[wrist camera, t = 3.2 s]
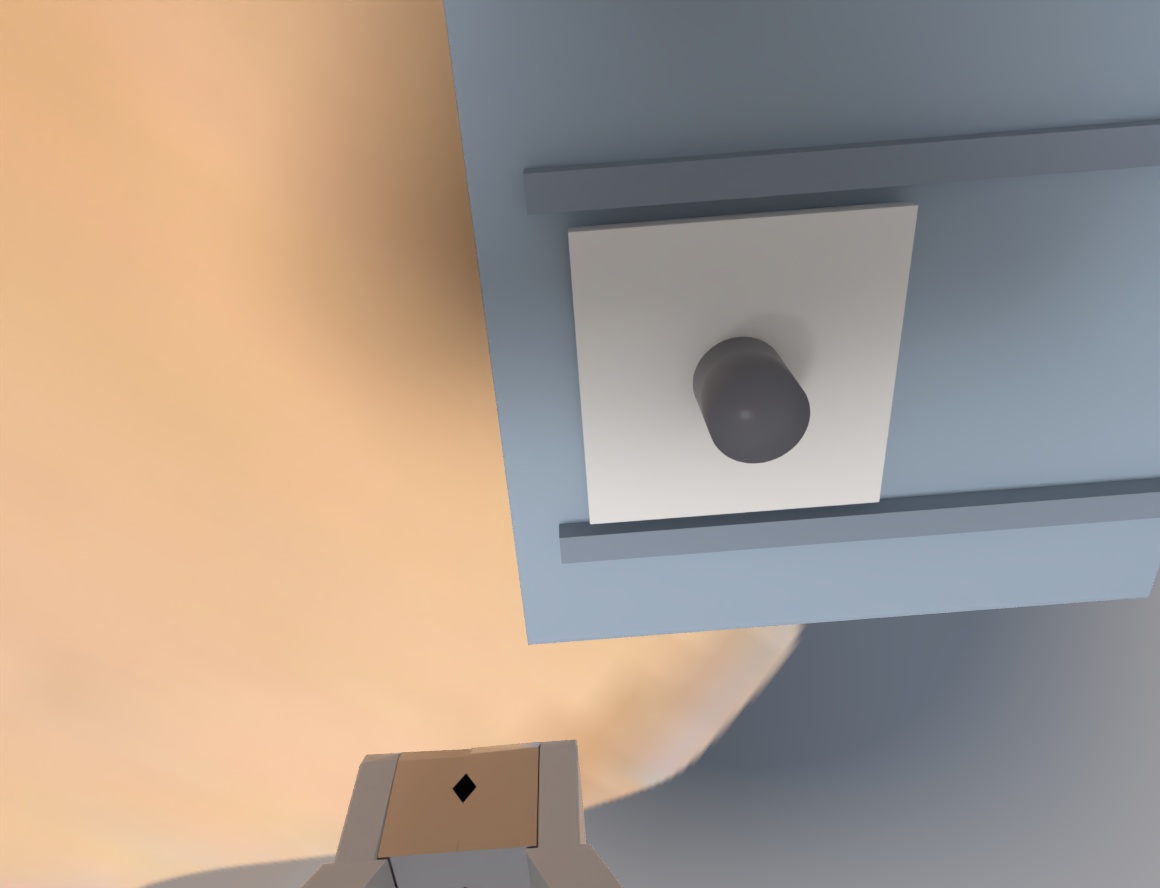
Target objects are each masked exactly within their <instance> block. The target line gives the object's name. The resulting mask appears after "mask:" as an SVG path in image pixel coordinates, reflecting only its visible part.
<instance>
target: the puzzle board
mask: <svg viewBox="0 0 1160 888" xmlns="http://www.w3.org/2000/svg"><path fill="white" fill-rule="evenodd" d="M443 2H444V10H445V17H446V25H447V32H448V40H449V48H450V55H451V63H452V70H453V78H454V86H455V93H456V101H457V108H458V116H459V123H460V131H461V139H462V146H463V154H464V161H465V169H466V177H467V184H468V192H469V199H470V207H471V215H472V222H473V230H474V237H475V245H476V252H477V260H478V268H479V275H480V283H481V290H482V298H483V306H484V313H485V321H486V328H487V336H488V343H489V351H490V359H491V366H492V374H493V381H494V389H495V397H496V404H497V412H498V419H499V427H500V435H501V442H502V450H503V457H504V465H505V472H506V480H507V488H508V495H509V503H510V510H511V518H512V526H513V533H514V541H515V548H516V556H517V563H518V571H519V579H520V586H521V594H522V601H523V609H524V617H525V624H526V632H527V639H528V645H531V644H544V643H557V642H570V641H583V640H596V639H609V638H622V637H635V636H648V635H661V634H674V633H687V632H700V631H713V630H726V629H739V628H751V627H764V626H777V625H790V624H803V623H816V622H829V621H842V620H855V619H868V618H880V617H894V616H906V615H920V614H933V613H946V612H958V611H972V610H985V609H998V608H1011V607H1024V606H1035V605H1050V604H1063V603H1076V602H1088V601H1101V600H1114V599H1128V598H1141V597H1148V596H1149V594H1150V591H1151V588H1152V586H1153V583H1154V580H1155V577H1156V574H1157V571H1158V568H1159V565H1160V0H443ZM900 201H910V202H912V203H914V204H916V205H918V211H917V219H916V227H915V234H914V242H913V249H912V257H911V264H910V272H909V280H908V287H907V295H906V302H905V310H904V317H903V325H902V333H901V340H900V348H899V355H898V363H897V370H896V378H895V386H894V393H893V401H892V408H891V416H890V423H889V431H888V439H887V446H886V454H885V461H884V469H883V476H882V484H881V492H880V499H879V502H874V503H861V504H848V505H835V506H822V507H809V508H796V509H783V510H770V511H757V512H744V513H731V514H718V515H705V516H692V517H679V518H666V519H653V520H640V521H628V522H615V523H602V524H590V518H589V505H588V491H587V478H586V465H585V452H584V438H583V425H582V412H581V399H580V385H579V372H578V359H577V346H576V332H575V319H574V306H573V293H572V280H571V266H570V253H569V240H568V227H579V226H592V225H605V224H618V223H631V222H643V221H656V220H669V219H682V218H695V217H708V216H720V215H733V214H746V213H759V212H772V211H785V210H798V209H810V208H823V207H836V206H849V205H862V204H875V203H888V202H900Z"/></svg>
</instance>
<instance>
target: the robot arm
mask: <svg viewBox="0 0 1160 888" xmlns="http://www.w3.org/2000/svg"><path fill="white" fill-rule="evenodd" d="M301 888H623V886H622V885H621V884H620V882H619V881H618V880H617V878H616V877H615V876H614V874H613V873H612V872H611V870H610V869H609V868H608V866H607V865H606V864H605V862H604V861H603V860H602V858H601V857H600V855H599V854H598V853H597V851H596V850H595V849H594V848H593V846H592V845H591V844H586V836H585V824H584V811H583V800H582V788H581V778H580V767H579V757H578V746H577V741H576V740H564V741H552V742H541V743H540V742H534V743H522V744H511V745H499V746H488V747H477V748H471V749H463V750H442V751H421V752H402V753H390V754H372V755H366V756H365V758H364V759H363V761H362V763H361V764H360V767H359V770H358V774H357V778H356V782H355V786H354V789H353V793H352V797H351V801H350V804H349V808H348V812H347V816H346V819H345V823H344V827H343V831H342V834H341V838H340V842H339V846H338V849H337V853H336V857H335V861H334V863H328V864H323V865H322V866H321V867H320V868H319V869H318V870H317V871H316V872H315V873H314V874H313V875H312V877H311V878H310V879H309V880H308V881H307V882H306V883H305V884H304V885H303V886H302V887H301Z"/></svg>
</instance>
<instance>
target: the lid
mask: <svg viewBox="0 0 1160 888" xmlns="http://www.w3.org/2000/svg"><path fill="white" fill-rule="evenodd" d="M917 211H918V205H916V204H914V203H912V202H910V201H900V202H888V203H875V204H862V205H849V206H836V207H823V208H810V209H798V210H785V211H772V212H759V213H746V214H733V215H720V216H708V217H695V218H682V219H669V220H656V221H643V222H631V223H618V224H605V225H592V226H579V227H568V240H569V253H570V266H571V280H572V293H573V306H574V319H575V332H576V346H577V359H578V372H579V385H580V399H581V412H582V425H583V438H584V452H585V465H586V478H587V491H588V505H589V518H590V524H602V523H615V522H628V521H640V520H653V519H666V518H679V517H692V516H705V515H718V514H731V513H744V512H757V511H770V510H783V509H796V508H809V507H822V506H835V505H848V504H861V503H874V502H879V499H880V492H881V484H882V476H883V469H884V461H885V454H886V446H887V439H888V431H889V423H890V416H891V408H892V401H893V393H894V386H895V378H896V370H897V363H898V355H899V348H900V340H901V333H902V325H903V317H904V310H905V302H906V295H907V287H908V280H909V272H910V264H911V257H912V249H913V242H914V234H915V227H916V219H917Z"/></svg>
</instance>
